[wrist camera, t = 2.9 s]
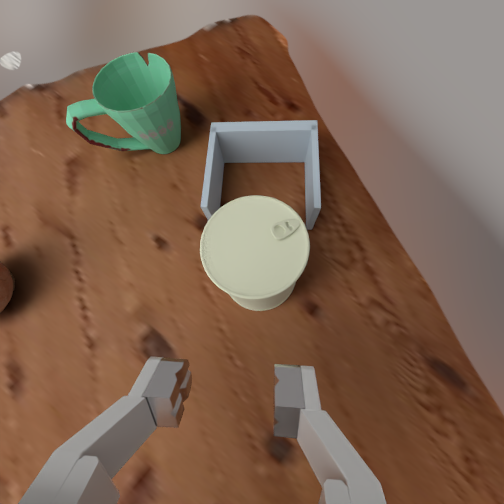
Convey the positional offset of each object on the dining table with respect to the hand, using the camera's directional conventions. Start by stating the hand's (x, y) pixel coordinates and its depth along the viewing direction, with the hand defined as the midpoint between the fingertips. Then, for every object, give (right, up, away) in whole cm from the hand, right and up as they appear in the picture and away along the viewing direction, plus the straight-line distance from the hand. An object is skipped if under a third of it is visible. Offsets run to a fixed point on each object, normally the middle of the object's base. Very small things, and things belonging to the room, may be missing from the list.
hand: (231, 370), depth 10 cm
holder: (+2, +13, +25) cm, 28 cm away
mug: (-15, +21, +29) cm, 39 cm away
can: (+2, +2, +21) cm, 21 cm away
